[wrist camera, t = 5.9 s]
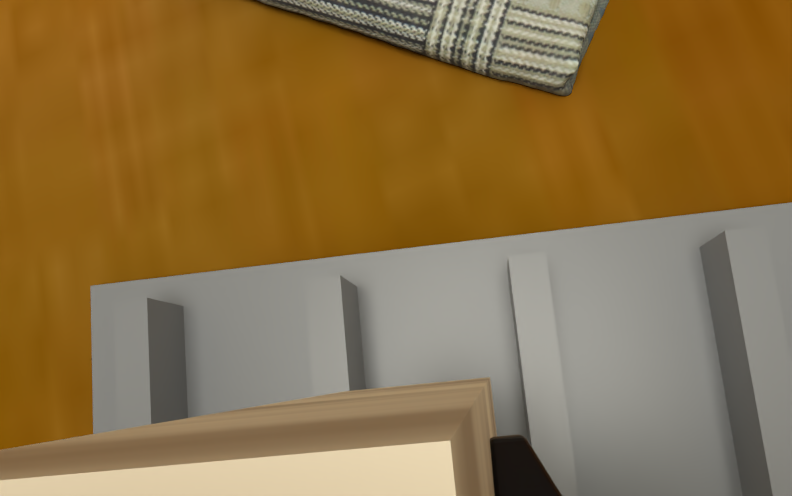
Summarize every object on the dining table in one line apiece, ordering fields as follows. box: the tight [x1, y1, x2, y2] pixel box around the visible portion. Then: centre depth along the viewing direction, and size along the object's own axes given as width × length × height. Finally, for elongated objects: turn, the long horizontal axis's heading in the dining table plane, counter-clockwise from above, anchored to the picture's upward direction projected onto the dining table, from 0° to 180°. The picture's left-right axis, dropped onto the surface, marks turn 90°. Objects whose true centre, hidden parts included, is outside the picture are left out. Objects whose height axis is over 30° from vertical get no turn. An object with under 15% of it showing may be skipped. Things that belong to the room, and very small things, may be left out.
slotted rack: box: [91, 203, 792, 496], centre depth 21 cm, size 10×22×3 cm, turn 96°
